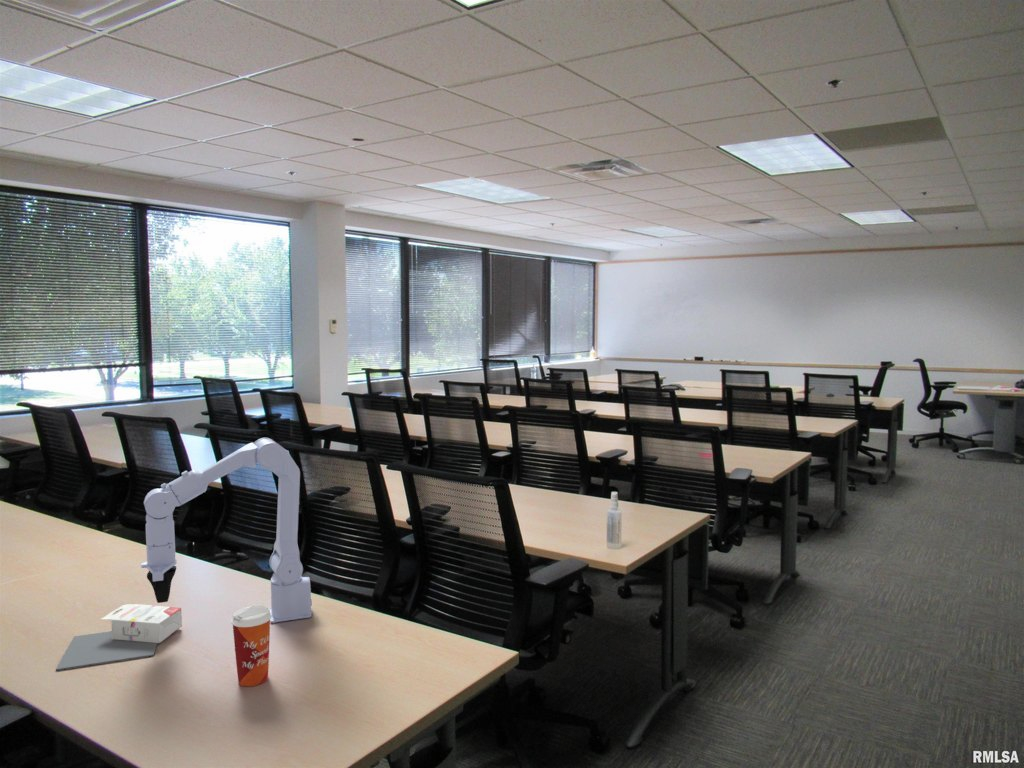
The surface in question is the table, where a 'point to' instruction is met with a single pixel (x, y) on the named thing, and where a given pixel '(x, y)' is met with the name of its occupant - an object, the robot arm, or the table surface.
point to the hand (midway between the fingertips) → (162, 601)
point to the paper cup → (252, 644)
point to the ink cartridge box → (144, 622)
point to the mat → (102, 650)
